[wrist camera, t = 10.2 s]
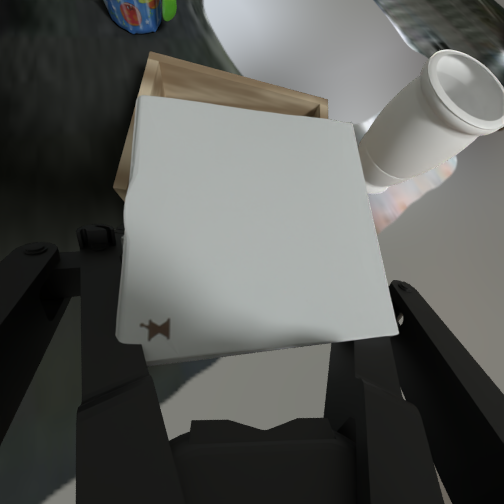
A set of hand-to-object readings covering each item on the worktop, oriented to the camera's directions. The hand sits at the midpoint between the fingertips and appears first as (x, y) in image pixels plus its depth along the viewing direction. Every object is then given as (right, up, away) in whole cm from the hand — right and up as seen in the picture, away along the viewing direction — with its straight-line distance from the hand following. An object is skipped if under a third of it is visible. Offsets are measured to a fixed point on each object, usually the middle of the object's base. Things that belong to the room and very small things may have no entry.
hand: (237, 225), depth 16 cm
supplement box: (-1, -5, +5) cm, 7 cm away
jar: (+21, +11, +20) cm, 31 cm away
